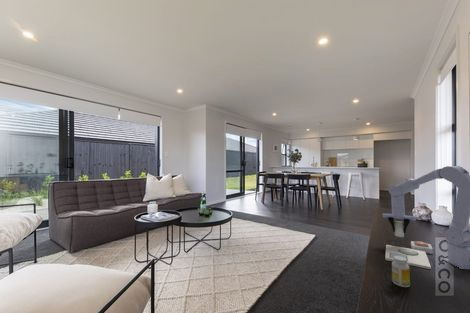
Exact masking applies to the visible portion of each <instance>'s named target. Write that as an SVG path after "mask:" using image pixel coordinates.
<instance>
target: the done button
mask: <svg viewBox="0 0 470 313" xmlns="http://www.w3.org/2000/svg"><path fill="white" fill-rule="evenodd" d="M414 242H415V243H416V245H417V246H422V247H427V244H428V243H427V242H424V241H417V240H416V241H414Z"/></svg>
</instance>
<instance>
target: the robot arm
mask: <svg viewBox="0 0 470 313" xmlns="http://www.w3.org/2000/svg"><path fill="white" fill-rule="evenodd" d="M437 179H439V180H440V179H441V180H442V179H444V180H446V181H447V182H449V183H452V184H453V185H454V186H455V187H456V188H457V192H456V193H457V194H456V200H455V205H454V210H453V214H452V219H451V223H450V224H449V226H448V229H447V230H446V231H445V232H444V238H445V240H446V244H447V258H445V257H444V258H443V257H442V260H443V261H445V262H447V263H449V264H451V265H453V266H455V267H456V266H457V267H456V268H458V267H459V268H458V269H461V270H470V225H469V223H470V171H468V170H466V169H465V168H464V167H462V166H460V165H459V166H458V165H454V166H450V165H449V166H448V165H447V166H444V167H442V168H438V169H435V170H432V171H431V172H428V173H426V174H423V175H422V176H420V177H418V178H415V179H414V178H406V179H405V180H404V181H402V182H398V183H396V184H395V185H391V186H389V188H388V193H389V195H390V197H391V198H390V199H391V200H390V201H391V213H382V218H383V219H384V218H387V220H388V222H389V224H390V225H391V227H392V232H394V233H395V226H394V221H395V219H398V220H403V222H404V234H406V233H407V232H406V231H407V228H408V226H409V224H410V221H413V222H416V221H417V217H416V216H414V215H406V210H405V209H406V206H405V205H406V204H405V195H406V194H408V193H410V192H413V191H415V190H418V189H420V185H424V184H426V183H429V182H431V181H433V180H434V181H435V180H437Z"/></svg>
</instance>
